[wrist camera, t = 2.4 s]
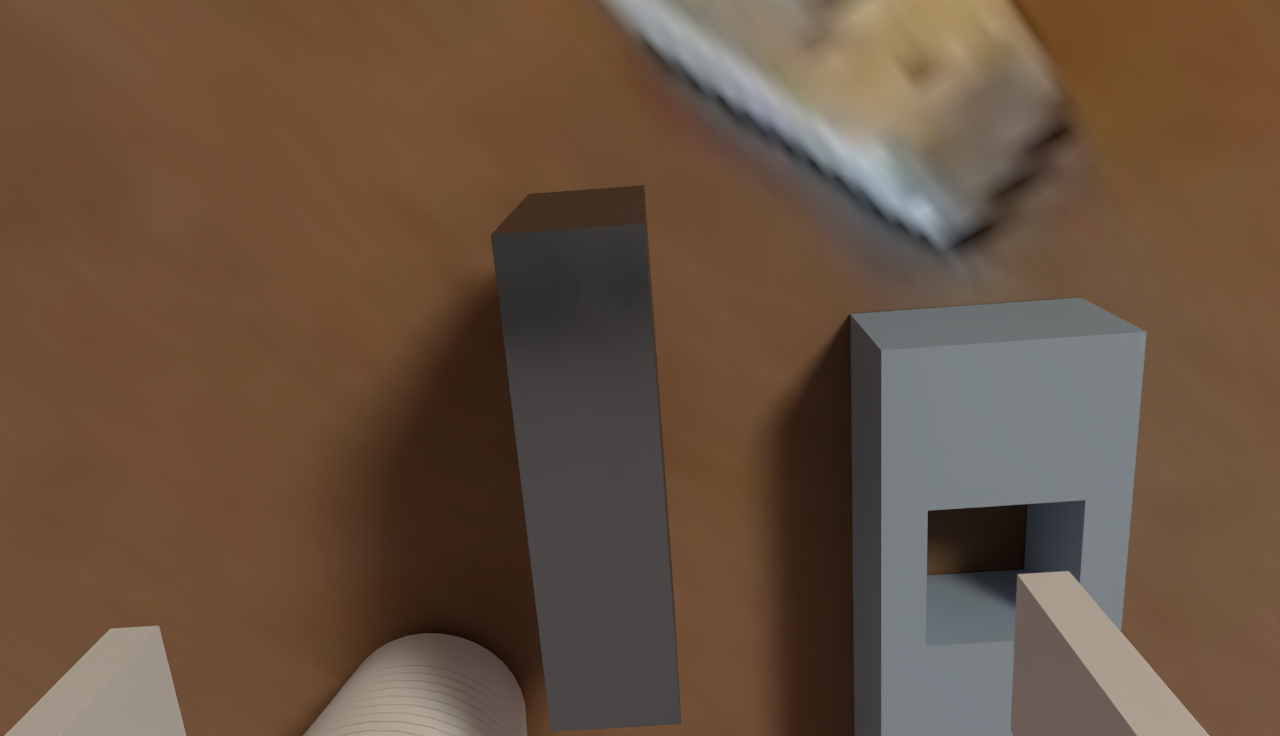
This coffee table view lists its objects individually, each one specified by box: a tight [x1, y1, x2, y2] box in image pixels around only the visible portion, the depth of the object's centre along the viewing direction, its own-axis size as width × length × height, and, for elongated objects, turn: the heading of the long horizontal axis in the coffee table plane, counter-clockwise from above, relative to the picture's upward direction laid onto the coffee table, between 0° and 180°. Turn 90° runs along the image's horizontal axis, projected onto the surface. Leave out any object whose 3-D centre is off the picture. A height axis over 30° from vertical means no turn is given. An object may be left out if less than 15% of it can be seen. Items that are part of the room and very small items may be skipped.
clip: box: [491, 185, 681, 732], centre depth 25 cm, size 3×12×10 cm, turn 4°
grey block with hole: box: [850, 298, 1146, 736], centre depth 31 cm, size 7×22×4 cm, turn 4°
